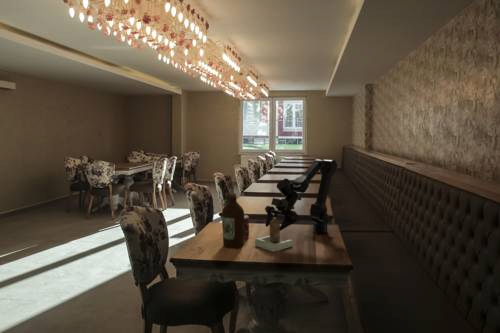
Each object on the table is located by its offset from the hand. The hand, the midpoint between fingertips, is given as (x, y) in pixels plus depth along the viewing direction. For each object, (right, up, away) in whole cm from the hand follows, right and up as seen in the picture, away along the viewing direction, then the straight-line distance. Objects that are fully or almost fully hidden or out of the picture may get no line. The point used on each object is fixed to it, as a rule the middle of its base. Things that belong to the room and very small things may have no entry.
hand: (272, 228), depth 182 cm
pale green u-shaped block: (+1, -8, +2) cm, 9 cm away
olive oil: (-19, -9, +2) cm, 21 cm away
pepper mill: (+1, -9, +2) cm, 9 cm away
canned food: (-15, -7, +16) cm, 23 cm away
